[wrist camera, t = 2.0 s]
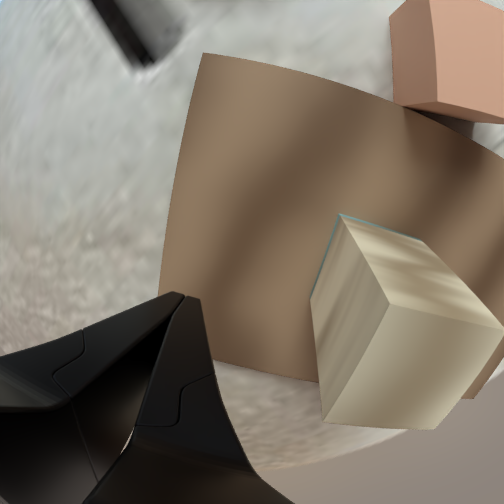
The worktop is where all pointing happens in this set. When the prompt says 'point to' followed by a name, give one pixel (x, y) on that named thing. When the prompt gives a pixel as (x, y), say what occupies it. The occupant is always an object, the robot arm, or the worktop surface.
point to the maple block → (394, 330)
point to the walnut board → (314, 204)
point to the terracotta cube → (449, 58)
